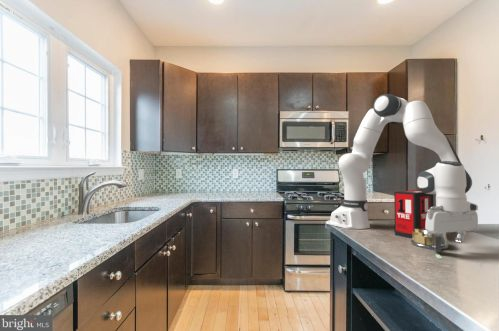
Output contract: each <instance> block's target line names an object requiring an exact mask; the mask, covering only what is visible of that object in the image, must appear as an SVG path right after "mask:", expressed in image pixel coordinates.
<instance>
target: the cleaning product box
mask: <svg viewBox="0 0 499 331" xmlns="http://www.w3.org/2000/svg"><path fill="white" fill-rule="evenodd" d="M393 194H394V202H393V203H394V235H395V236H397V237H403V238H407V239H411V240H412V232H415V229H417V228H418V229H421V231H422V229H425V223H426V215H427V212H428V210H429V209H430V208H431V207H433V206H434V194H426V193H423V192H421V191H420V190H414V189H413V190H411V189H410V190H402V191H394V192H393ZM431 210H432V209H431Z"/></svg>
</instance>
